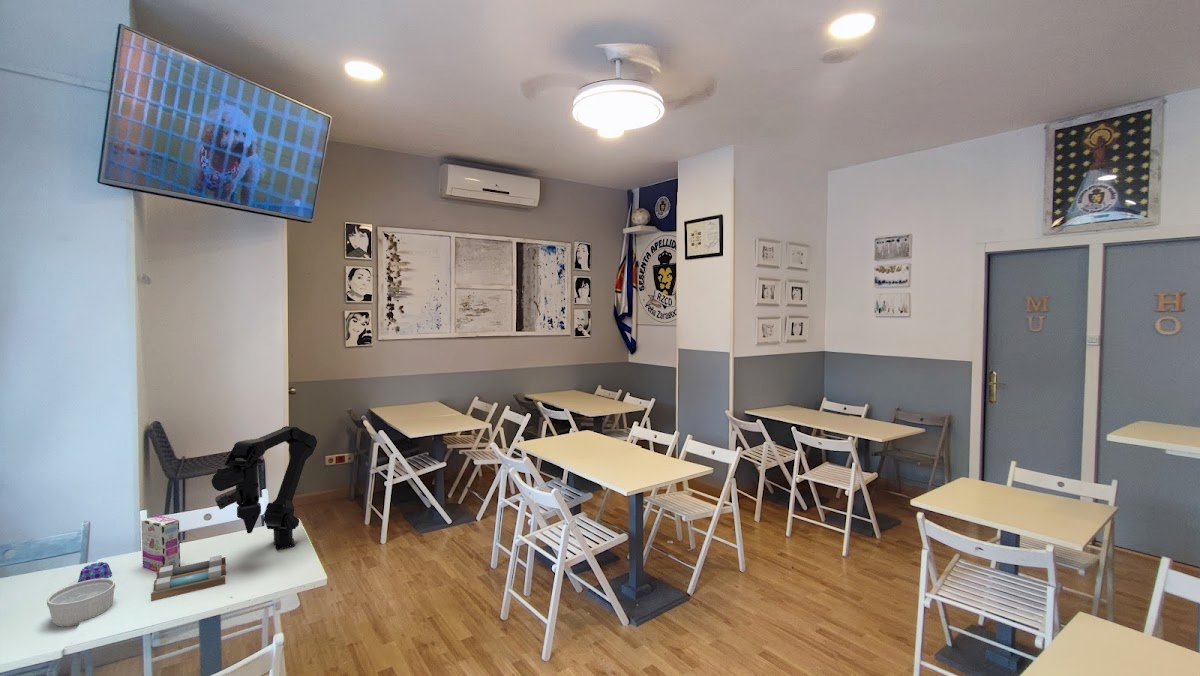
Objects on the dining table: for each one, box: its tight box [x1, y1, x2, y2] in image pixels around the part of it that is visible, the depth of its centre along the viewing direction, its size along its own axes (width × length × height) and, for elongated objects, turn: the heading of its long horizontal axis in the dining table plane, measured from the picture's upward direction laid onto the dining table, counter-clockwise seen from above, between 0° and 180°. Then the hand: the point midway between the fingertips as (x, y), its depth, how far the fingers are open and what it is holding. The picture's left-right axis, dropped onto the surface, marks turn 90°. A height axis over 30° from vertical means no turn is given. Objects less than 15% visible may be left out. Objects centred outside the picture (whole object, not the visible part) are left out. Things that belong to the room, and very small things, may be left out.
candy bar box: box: [140, 514, 181, 573], centre depth 168 cm, size 11×5×16 cm, turn 68°
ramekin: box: [46, 578, 116, 628], centre depth 144 cm, size 13×13×7 cm
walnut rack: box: [150, 556, 227, 602], centre depth 161 cm, size 15×17×3 cm
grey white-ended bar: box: [159, 554, 223, 579], centre depth 164 cm, size 15×4×4 cm, turn 125°
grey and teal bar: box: [156, 565, 221, 591], centre depth 157 cm, size 15×4×4 cm, turn 125°
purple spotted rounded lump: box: [68, 561, 113, 586], centre depth 161 cm, size 12×12×5 cm
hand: (249, 528), depth 173 cm, fingers open, 9 cm apart
